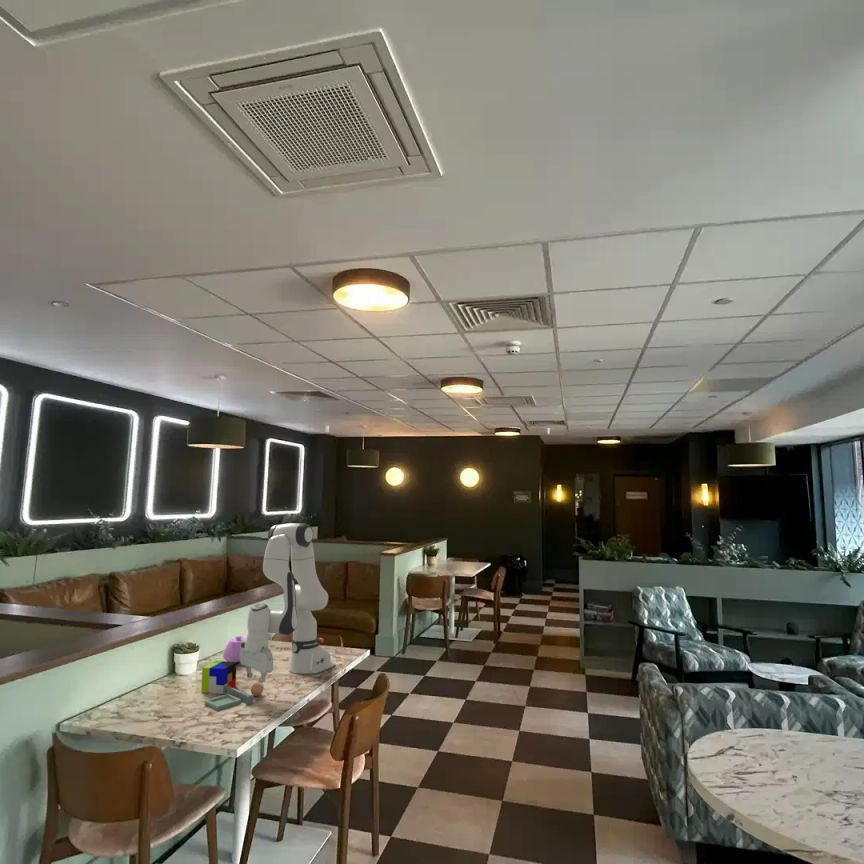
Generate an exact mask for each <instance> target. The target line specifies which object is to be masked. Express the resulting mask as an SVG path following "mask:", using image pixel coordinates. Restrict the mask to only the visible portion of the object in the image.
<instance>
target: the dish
mask: <svg viewBox="0 0 864 864" xmlns="http://www.w3.org/2000/svg"><path fill="white" fill-rule="evenodd" d="M241 704H242V701H241V699H239V698H237V697H234V696H232V695H230V694H225V695H224V694H223V695H220V696H219V695H218V696H216V697H212V698H209V699H205V700H204V705H205V706H207V707H209V708H211V709H213V710H215V711H221V710H224V709H228V708H230V707H231V708H232V707H233V706H237V705H241Z"/></svg>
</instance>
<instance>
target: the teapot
mask: <svg viewBox="0 0 864 864" xmlns="http://www.w3.org/2000/svg"><path fill="white" fill-rule="evenodd" d="M244 641H247V637H243V636H242V635H236V636H235V637H234V638H232V639H230V640H229V641H228V642H227V644H226V645H225V647H224V649H223V653H222V657H223V659H224V661H227V662H237V663H239V664H240V665H241V663H240V650H241V647H240V643H241V642H244Z"/></svg>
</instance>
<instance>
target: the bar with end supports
mask: <svg viewBox="0 0 864 864" xmlns="http://www.w3.org/2000/svg"><path fill="white" fill-rule="evenodd" d="M226 694H230V695H232V696H234V697H237V698H239V699H241V702H242V703H245V704H246V705H247V706H248V705H251V704H254V695H253V694H248V693H245V692H244V691H241V690H240V689H239V690H238V689H236V688H235V687H233V688H232V687H230V685H227V686H223V695H226Z"/></svg>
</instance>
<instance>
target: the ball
mask: <svg viewBox="0 0 864 864" xmlns="http://www.w3.org/2000/svg"><path fill="white" fill-rule="evenodd" d="M263 692H264V685H263V683H261V682H255V683H253V684H252V685H251V688H250V693H251V695H253V697H258V696H261V694H262V693H263Z"/></svg>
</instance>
